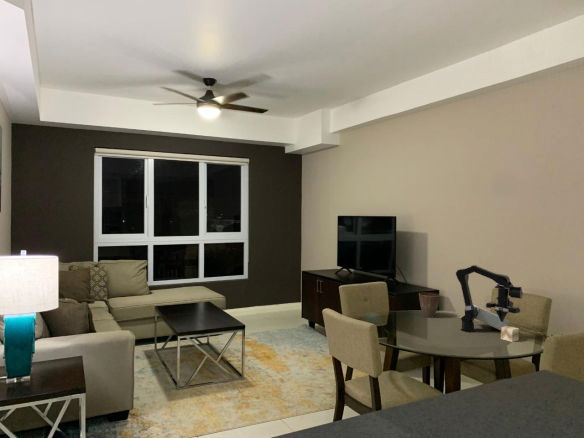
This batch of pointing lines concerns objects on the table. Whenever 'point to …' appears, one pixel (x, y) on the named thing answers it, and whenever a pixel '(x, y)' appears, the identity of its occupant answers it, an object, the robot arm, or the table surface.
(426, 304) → the plant pot
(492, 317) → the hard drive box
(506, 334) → the birch block
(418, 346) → the table surface
